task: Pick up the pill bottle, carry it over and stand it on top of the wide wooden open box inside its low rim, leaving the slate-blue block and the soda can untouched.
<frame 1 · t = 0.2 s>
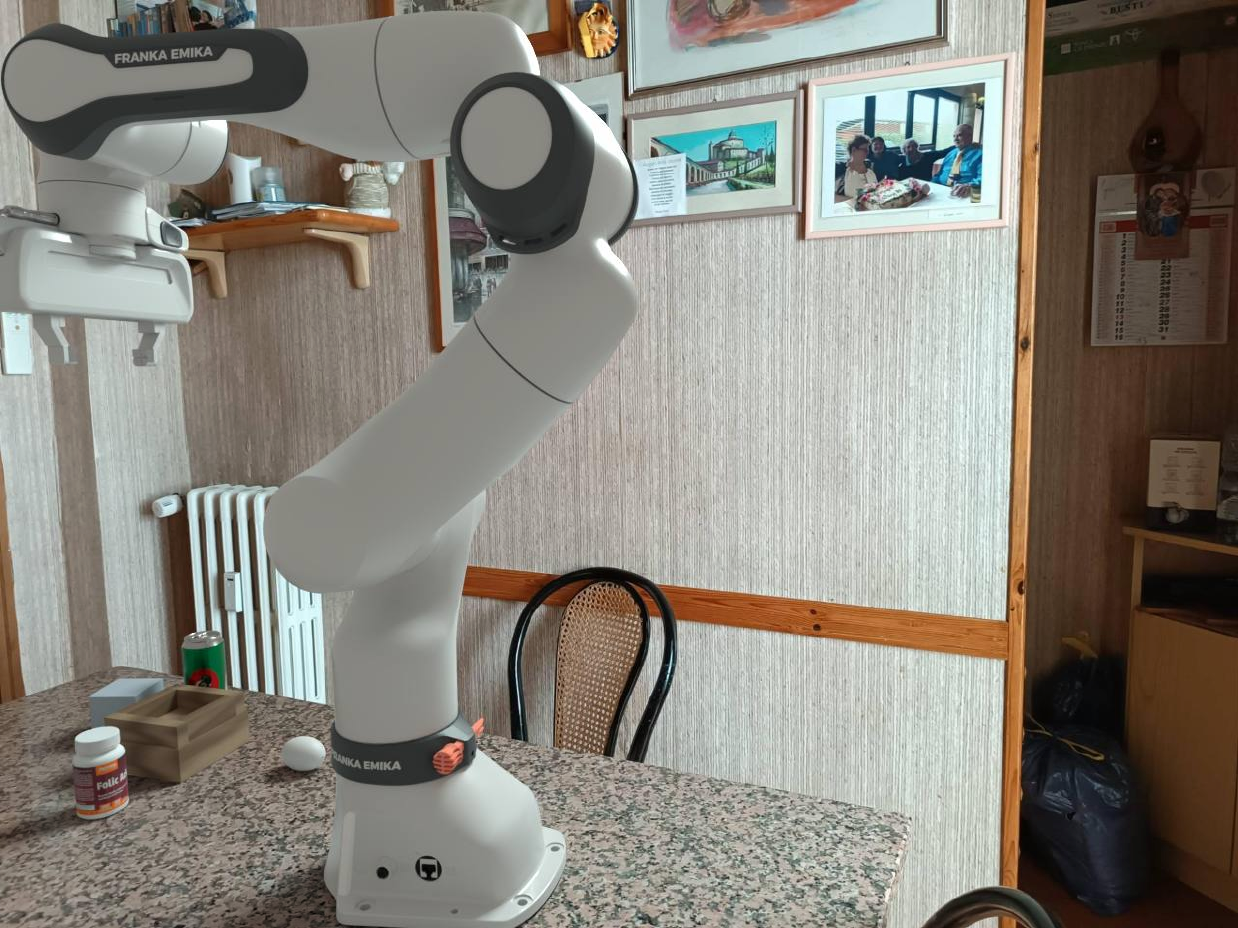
hand: (107, 366, 79), 47 cm above the table, fingers open, 8 cm apart
wooden open box: (180, 754, 97), on the table
soda can: (208, 723, 107), on the table
egg: (304, 770, 94), on the table
slate block: (130, 731, 105), on the table
pill bottle: (103, 810, 86), on the table
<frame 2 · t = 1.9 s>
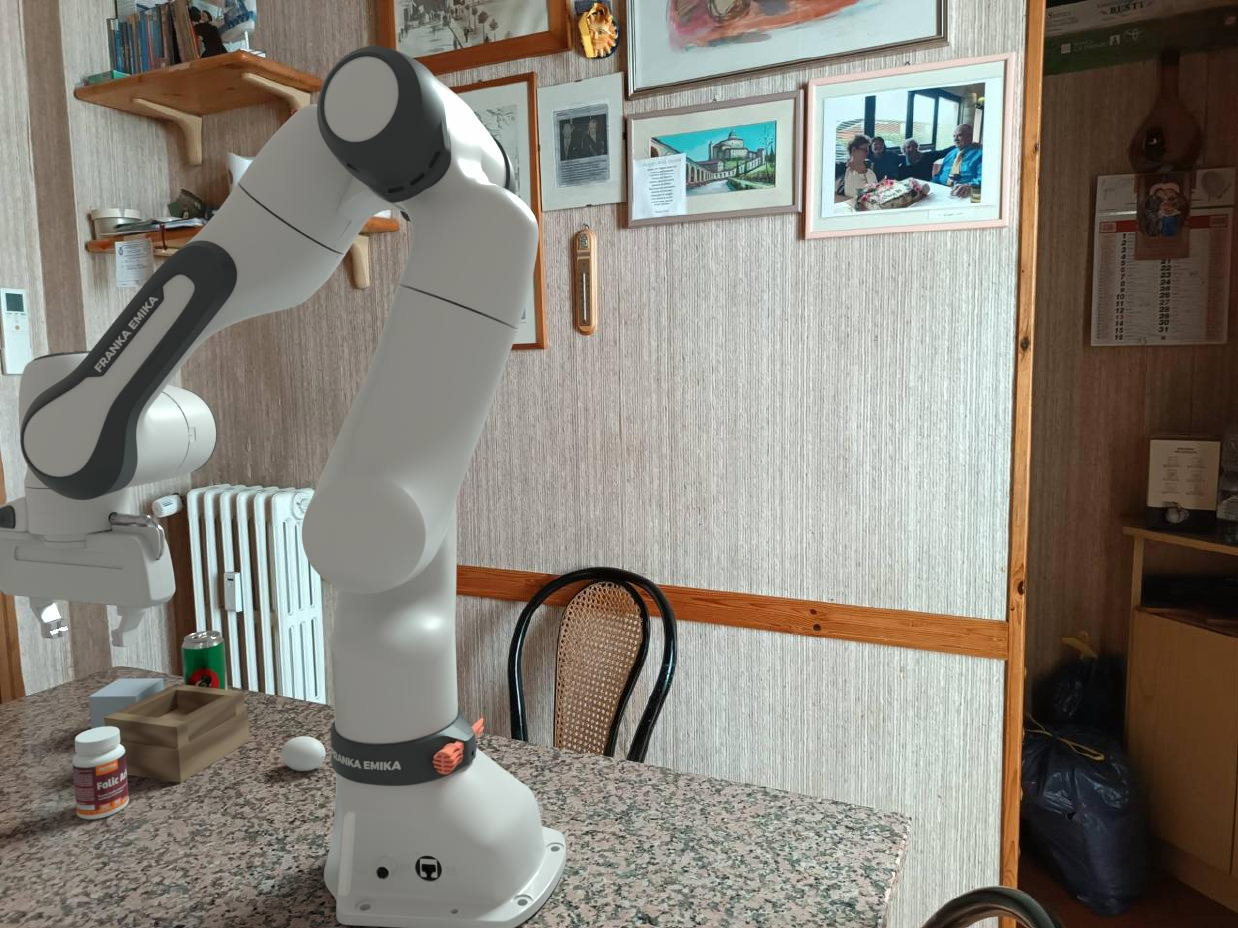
hand: (89, 641, 83), 19 cm above the table, fingers open, 8 cm apart
nothing on the table moved.
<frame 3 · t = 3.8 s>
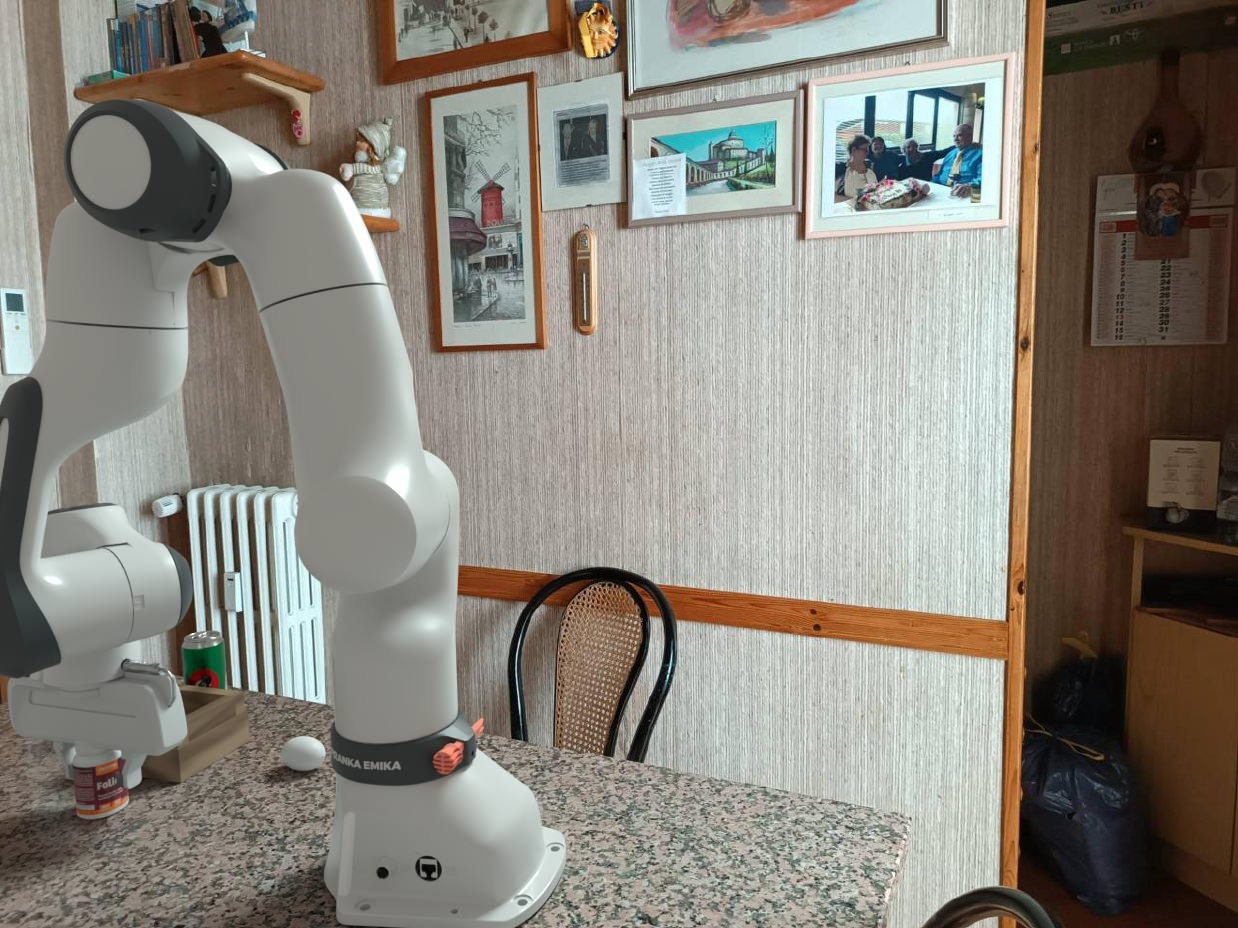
hand: (103, 781, 85), 3 cm above the table, fingers open, 6 cm apart
pill bottle: (103, 810, 86), on the table, touching gripper
everything else where it was.
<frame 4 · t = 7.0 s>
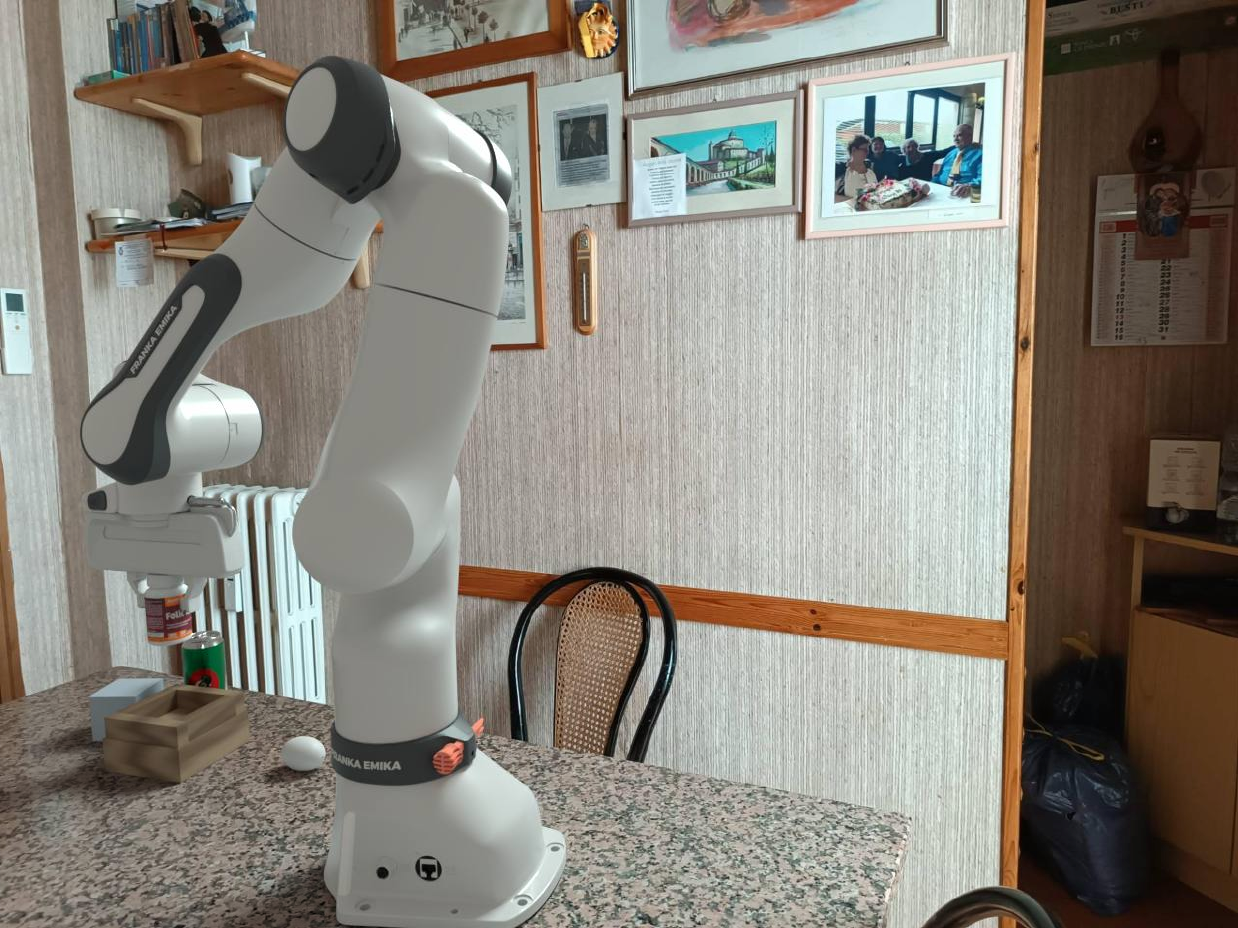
hand: (169, 609, 95), 18 cm above the table, fingers closed on pill bottle, 5 cm apart
pill bottle: (170, 641, 96), point 14 cm above the table, touching gripper
everything else where it was.
when the fingers open (8 cm above the table, at t = 9.9 s): pill bottle stays where it is, resting on wooden open box.
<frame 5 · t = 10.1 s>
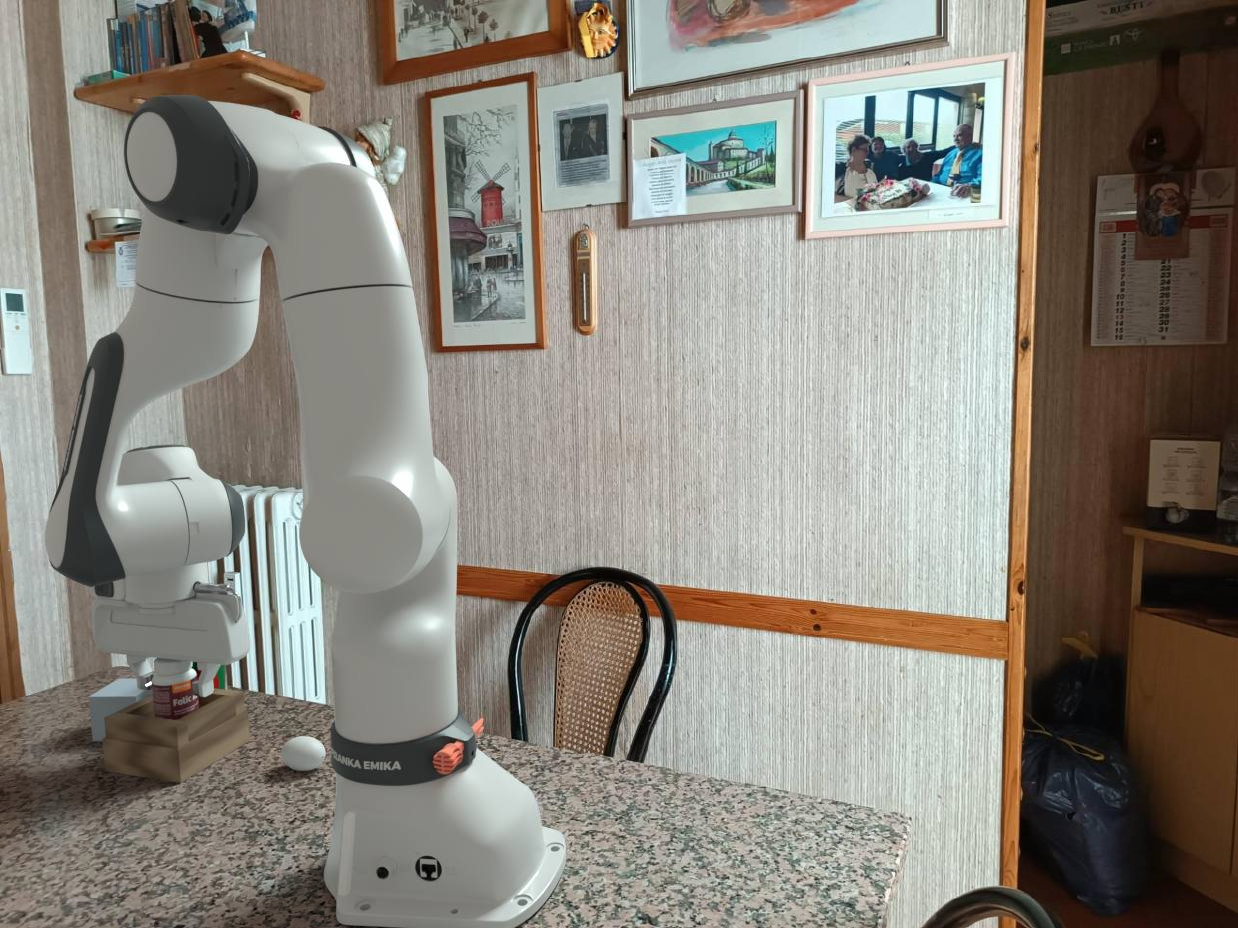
hand: (175, 691, 97), 8 cm above the table, fingers open, 7 cm apart
pill bottle: (178, 725, 97), point 4 cm above the table, touching wooden open box
everything else where it was.
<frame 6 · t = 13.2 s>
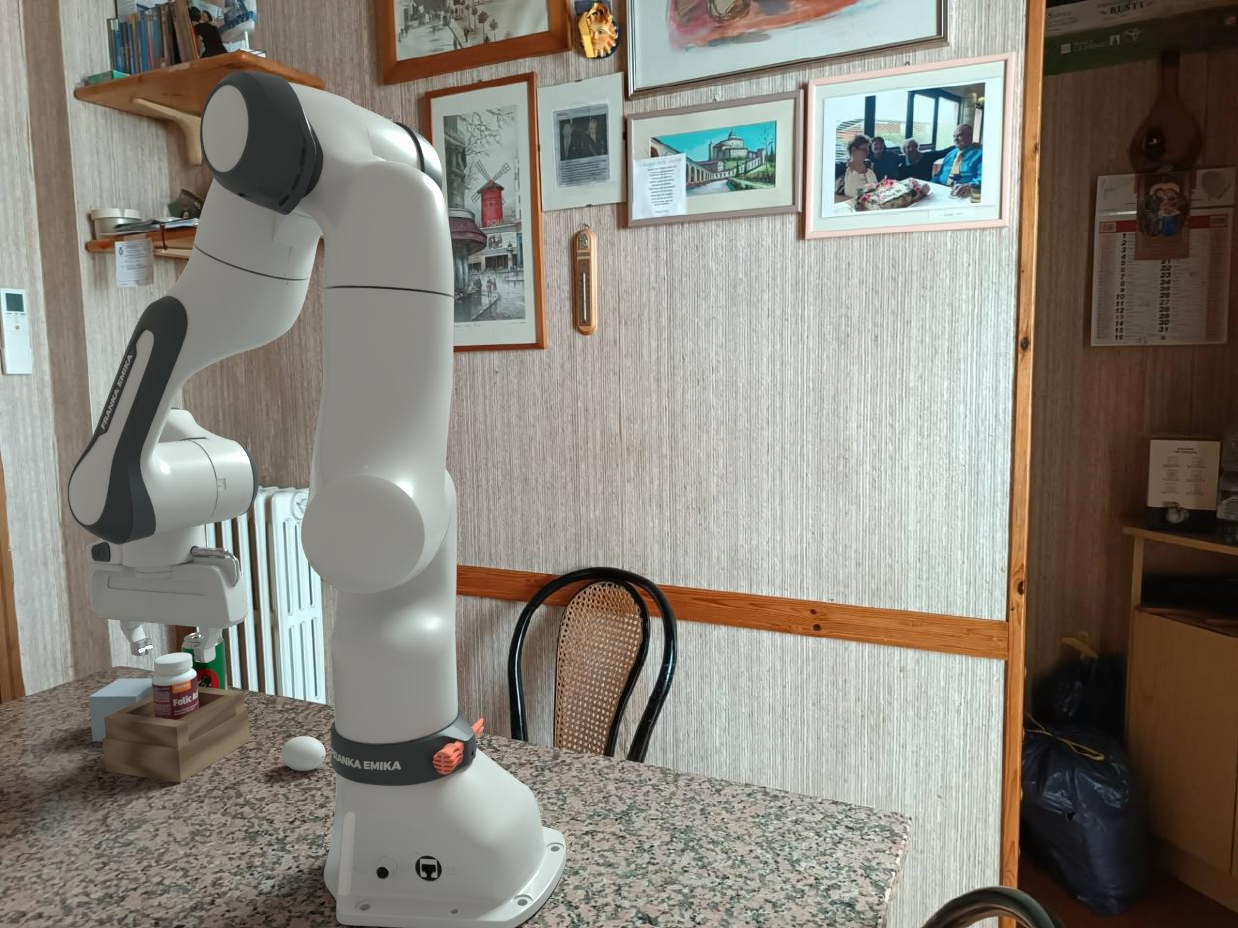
hand: (173, 657, 96), 12 cm above the table, fingers open, 8 cm apart
nothing on the table moved.
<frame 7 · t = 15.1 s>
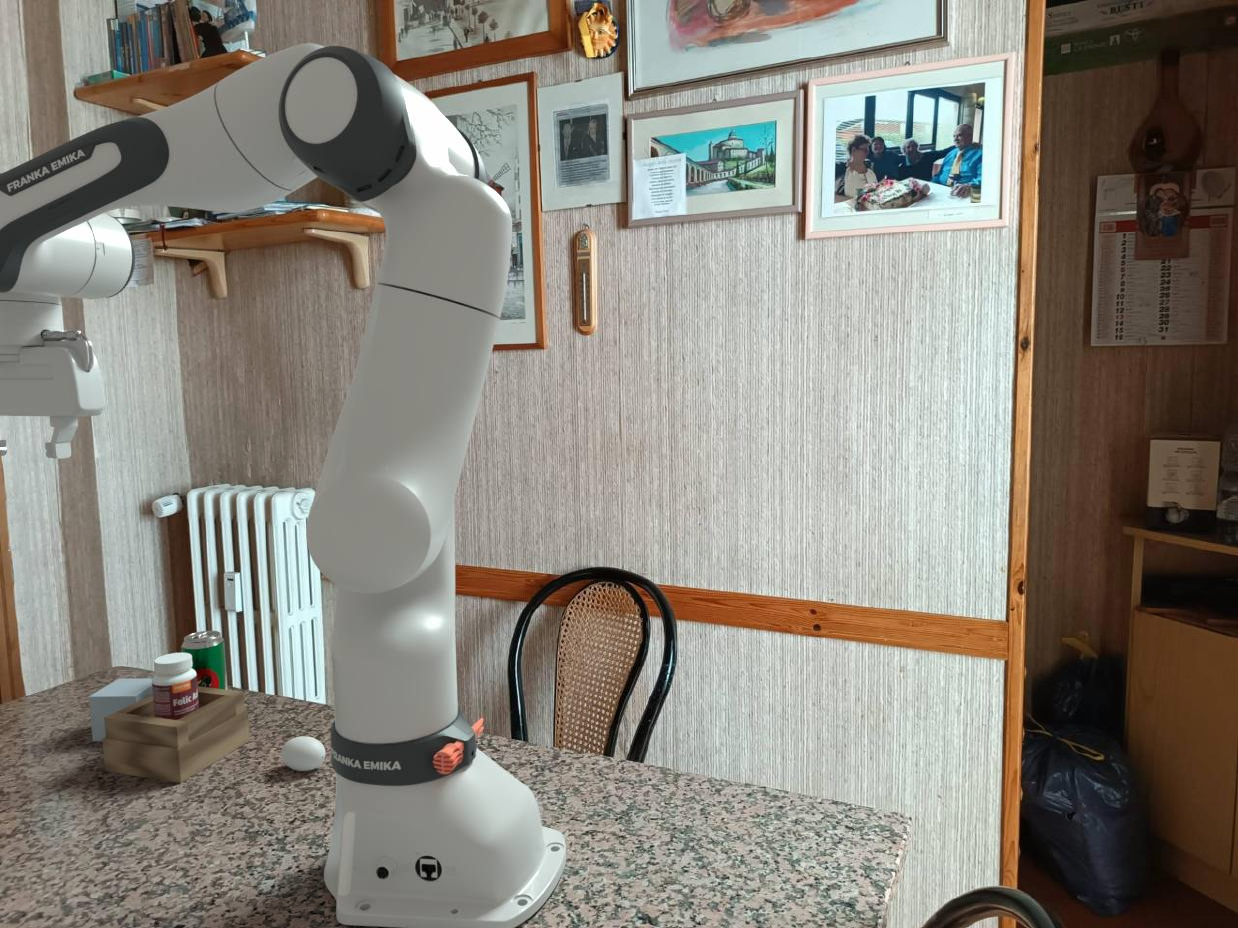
hand: (26, 457, 89), 37 cm above the table, fingers open, 8 cm apart
nothing on the table moved.
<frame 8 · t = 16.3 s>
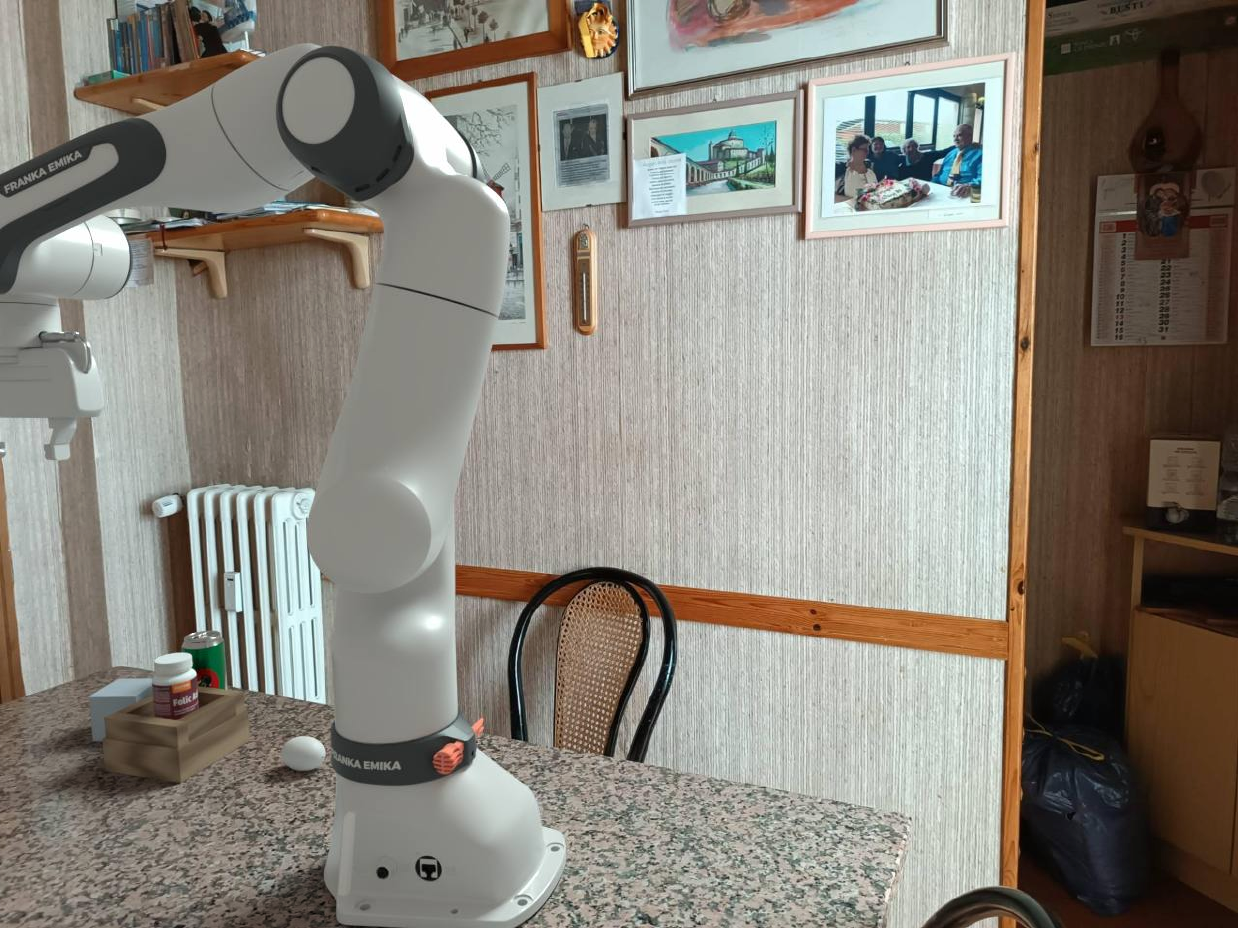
hand: (25, 459, 88), 37 cm above the table, fingers open, 8 cm apart
nothing on the table moved.
at the end: pill bottle 0.2 cm from the wooden open box (horizontally); pill bottle point 3.8 cm above the table; pill bottle tilted 0° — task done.
